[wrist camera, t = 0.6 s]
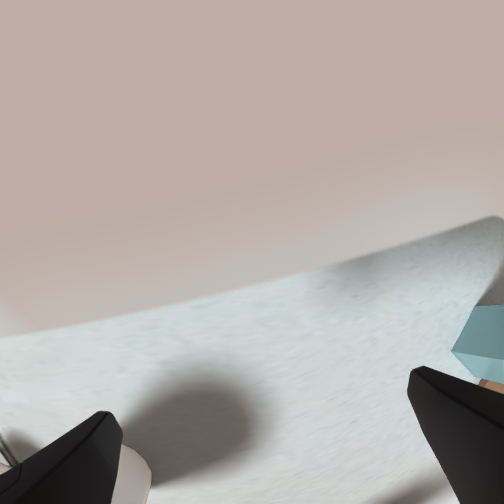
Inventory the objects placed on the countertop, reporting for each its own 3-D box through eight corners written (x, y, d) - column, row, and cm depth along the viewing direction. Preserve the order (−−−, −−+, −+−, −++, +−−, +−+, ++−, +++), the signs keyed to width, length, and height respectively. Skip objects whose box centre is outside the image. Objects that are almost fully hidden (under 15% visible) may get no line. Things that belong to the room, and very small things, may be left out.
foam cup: (66, 450, 20) (-6, 502, 7) (112, 410, 21) (28, 473, 8) (132, 511, 19) (89, 584, 6) (187, 480, 20) (156, 575, 7)
